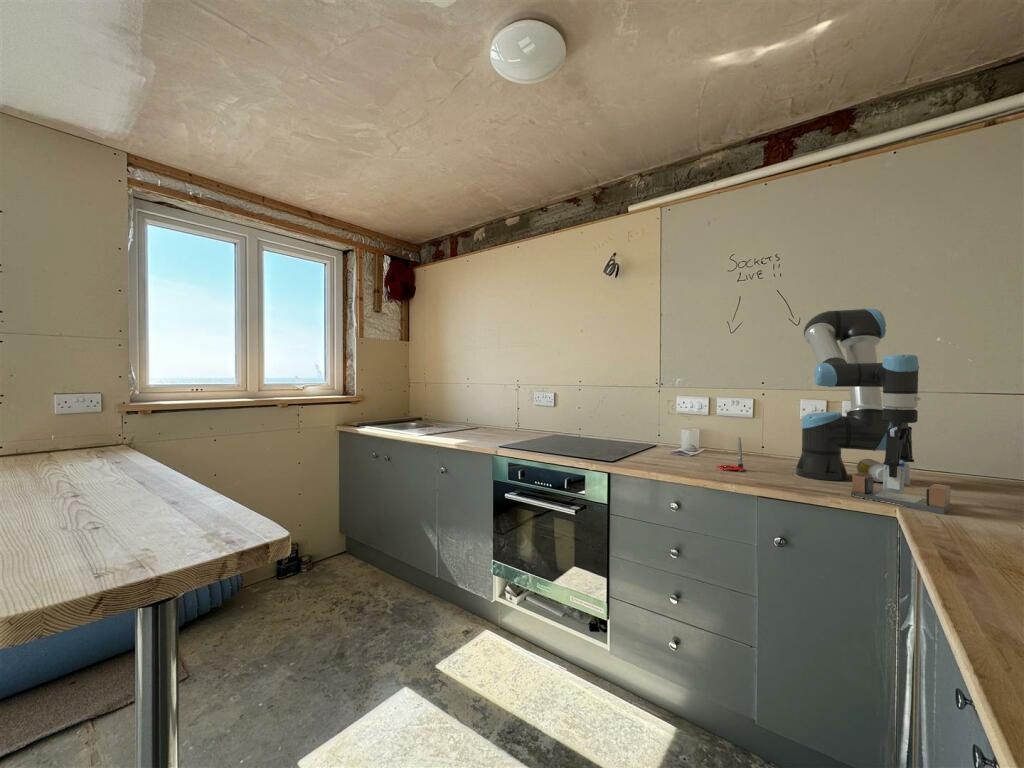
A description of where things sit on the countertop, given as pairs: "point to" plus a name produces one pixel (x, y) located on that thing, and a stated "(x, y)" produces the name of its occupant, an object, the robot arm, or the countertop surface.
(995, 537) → the countertop surface
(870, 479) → the rail
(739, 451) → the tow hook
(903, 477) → the medicine box
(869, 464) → the supplement bottle
